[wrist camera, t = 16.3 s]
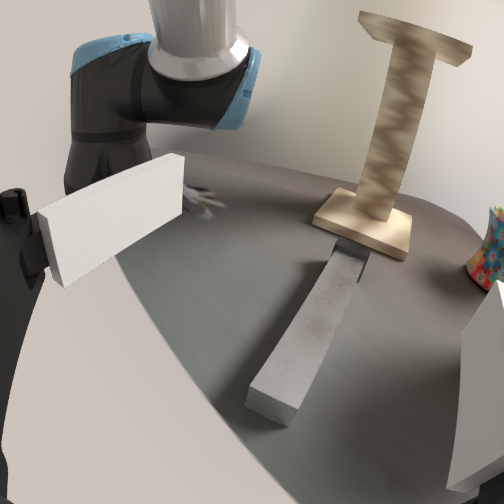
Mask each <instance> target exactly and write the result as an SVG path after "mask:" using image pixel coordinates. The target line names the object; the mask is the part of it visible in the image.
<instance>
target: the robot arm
mask: <svg viewBox="0 0 504 504" xmlns="http://www.w3.org/2000/svg"><path fill="white" fill-rule="evenodd" d="M149 5H150V9H151V14H152V18H153V23H154V27H155V31H156V37H155V38H154V39H153V36H152V35H151V34H148V33H136V34H127V35H117V36H111V37H106V38H101V39H97V40H93V41H90V42H87V43H85V44H83V45H81V46H80V47H79V48H77V50H76V51H75V52H74V55H73V61H72V69H71V73H70V78H71V134H72V144H71V148H70V152H69V156H68V161H67V166H66V171H65V174H64V188H65V194H66V197H63V198H61V199H59V200H57V201H55V202H53V203H51V204H49V205H47V206H45V207H43V208H41V209H39V210H37V213H35V214H33V215H30V212H29V207H28V202H27V197H26V192H25V190H23V189H21V188H15V189H9V190H7V191H4V192H2V193H0V504H13V503H12V502H11V501H9V500H7V482H8V467H7V462H6V459H5V457H4V454H3V452H2V448H1V441H2V434H3V427H4V420H5V415H6V410H7V405H8V400H9V395H10V390H11V386H12V381H13V377H14V373H15V369H16V365H17V361H18V357H19V354H20V350H21V347H22V344H23V340H24V337H25V334H26V330H27V327H28V324H29V321H30V318H31V315H32V312H33V309H34V306H35V304H36V301H37V298H38V295H39V293H40V290H41V287H42V285H43V282H44V279H45V272H44V269H45V268H46V267H48V266H50V270H51V273H52V277H53V279H54V280H55V281H56V282H57V283H58V284H59V285H61V286H62V287H63V288H64V289H65V288H66V287H68V286H69V285H71V284H72V283H74V282H75V281H77V280H78V279H79V278H81V277H82V276H84V275H85V274H87V273H88V272H90V271H91V270H93V269H94V268H96V267H97V266H99V265H100V264H102V263H103V262H105V261H106V260H108V259H109V258H111V257H112V256H114V255H116V254H117V253H119V252H120V251H122V250H123V249H125V248H127V247H128V246H130V245H131V244H133V243H134V242H136V241H138V240H139V239H141V238H142V237H144V236H146V235H147V234H149V233H150V232H152V231H154V230H155V229H157V228H159V227H160V226H162V225H164V224H165V223H167V222H168V221H170V220H172V219H173V218H175V217H177V216H178V215H180V214H182V193H183V174H184V157H183V156H180V155H176V154H173V153H170V154H167V155H164V156H161V157H159V158H156V159H153V160H152V156H151V152H150V148H149V145H148V141H147V138H146V123H161V124H172V125H182V126H190V127H199V128H206V129H210V130H217V129H220V130H236V129H238V128H240V127H241V126H242V125H243V123H244V120H245V117H246V114H247V111H248V107H249V104H250V100H251V94H252V92H253V88H254V85H255V81H256V77H257V73H258V68H259V63H260V59H261V53H260V51H259V50H256V49H254V48H253V47H249V43H248V38H247V36H246V34H245V32H244V31H243V30H242V29H241V28H240V27H238V26H237V25H236V0H149ZM479 486H480V489H479V495H478V496H477V497H475V498H473V499H471V500H468V501H466V502H464V503H462V504H504V283H503V282H501V281H499V280H496V281H495V283H494V285H493V286H492V288H491V289H490V291H489V293H488V294H487V296H486V297H485V299H484V300H483V302H482V303H481V305H480V306H479V308H478V309H477V311H476V312H475V314H474V315H473V317H472V318H471V320H470V321H469V323H468V324H467V325H466V327H465V328H464V330H463V331H462V332H461V372H460V392H459V405H458V416H457V425H456V433H455V441H454V448H453V454H452V460H451V466H450V471H449V476H448V481H447V486H446V489H448V490H453V491H457V492H462V493H467V492H469V491H471V490H473V489H475V488H477V487H479Z"/></svg>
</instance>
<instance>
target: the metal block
mask: <svg viewBox="0 0 504 504" xmlns="http://www.w3.org/2000/svg"><path fill="white" fill-rule="evenodd" d="M371 250H372V249H370V248H368V247H365V246H363V245H360V244H358V243H355V242H353V241H350V240H348V239H345V238H343V237H340V236H339V238H338V240H337V241H336V243H335V246H334V249H333V252H332V255H331V258H330V260H329V262H328V263H327V265H326V267H325V268H324V270H323V272H322V273H321V275H320V277H319V278H318V280H317V282H316V283H315V285H314V287H313V288H312V290H311V292H310V293H309V295H308V297H307V298H306V300H305V301H304V303H303V305H302V306H301V308H300V310H299V311H298V313H297V314H296V316H295V318H294V319H293V321H292V322H291V324H290V325H289V327H288V329H287V330H286V332H285V333H284V335H283V336H282V338H281V339H280V341H279V342H278V344H277V346H276V347H275V349H274V350H273V352H272V353H271V355H270V356H269V358H268V359H267V361H266V362H265V364H264V365H263V367H262V368H261V370H260V371H259V373H258V374H257V376H256V377H255V378H254V380H253V381H252V383H251V384H250V386H249V390H248V393H247V397H246V401H245V404H244V406H245V407H247V408H248V409H250V410H252V411H254V412H256V413H258V414H260V415H262V416H264V417H266V418H268V419H270V420H272V421H274V422H276V423H279V424H281V425H283V426H285V427H287V428H288V426H289V424H290V423H291V421H292V419H293V418H294V416H295V414H296V412H297V411H298V409H299V407H300V405H301V403H302V401H303V399H304V397H305V395H306V393H307V391H308V389H309V387H310V385H311V383H312V381H313V379H314V377H315V375H316V373H317V371H318V369H319V367H320V365H321V363H322V361H323V359H324V357H325V354H326V352H327V350H328V348H329V346H330V344H331V341H332V339H333V337H334V335H335V333H336V330H337V328H338V326H339V323H340V321H341V319H342V317H343V314H344V312H345V309H346V307H347V305H348V302H349V300H350V297H351V295H352V293H353V290H354V288H355V285H356V283H357V282H359V280H360V278H361V275H362V273H363V270H364V268H365V265H366V263H367V260H368V258H369V255H370V252H371Z"/></svg>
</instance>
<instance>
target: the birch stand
mask: <svg viewBox="0 0 504 504" xmlns="http://www.w3.org/2000/svg"><path fill="white" fill-rule="evenodd" d="M358 22H359V23H360V24H361V25H362V26H363V28H364V29H365V30H366V31H367V32H368V34H369V35H370V36H371V37H372V38H373V39H374V40H378V41H381V42H385V43H389V44H392V45H393V49H392V54H391V59H390V64H389V69H388V73H387V78H386V82H385V87H384V91H383V95H382V100H381V104H380V108H379V112H378V117H377V120H376V124H375V128H374V132H373V136H372V140H371V143H370V147H369V151H368V154H367V158H366V162H365V165H364V169H363V172H362V176H361V179H360V182H359V186H358V189H357V192H356V194H355V193H352V192H350V191H347V190H344V189H342V188H339V187H338V189H337V190H336V191H335V192H334V193H333V194H332V195H331V197H330V198H329V199H328V200H327V201H326V202H325V203H324V204H323V206H322V207H321V208H320V209H319V210H318V211H317V212H316V213H315V215H314V218H313V222H312V224H313V225H315V226H318V227H321V228H323V229H326V230H328V231H331V232H333V233H336V234H338V235H341V236H343V237H346V238H348V239H351V240H353V241H356V242H358V243H361V244H363V245H365V246H368V247H370V248H373V249H375V250H378V251H380V252H382V253H385V254H387V255H389V256H392V257H394V258H397V259H399V260H401V261H404V260H405V258H406V256H407V254H408V248H409V241H410V232H411V223H412V216H410V215H408V214H406V213H403V212H401V211H398V210H396V209H393V205H394V202H395V199H396V197H397V194H398V190H399V188H400V185H401V182H402V179H403V176H404V172H405V170H406V167H407V163H408V160H409V157H410V154H411V150H412V147H413V144H414V140H415V136H416V133H417V130H418V126H419V122H420V119H421V115H422V111H423V108H424V104H425V100H426V96H427V91H428V87H429V83H430V78H431V74H432V70H433V65H434V60H435V59H438V60H440V61H443V62H445V63H448V64H450V65H453V66H455V67H458V66H459V65H461V64H462V63H463V62H465V61H466V60H468V59H469V58H470V57H471V54H472V48H473V46H471V45H469V44H467V43H464V42H462V41H459V40H457V39H454V38H452V37H449V36H446V35H444V34H441V33H438V32H435V31H432V30H429V29H426V28H423V27H420V26H417V25H413V24H411V23H407V22H404V21H400V20H397V19H393V18H389V17H385V16H381V15H377V14H373V13H369V12H364V11H360V12H359V18H358Z"/></svg>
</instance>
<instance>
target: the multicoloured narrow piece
mask: <svg viewBox="0 0 504 504" xmlns="http://www.w3.org/2000/svg"><path fill="white" fill-rule="evenodd" d="M467 270H468V272H469V274H470V276H471V277H472V278H473V279H474V280H475V281H476V282H477V283H478V284H479V285H480V286H481V287H483V288H484V289H486V290H488V291H490V289H491V288H492V286H493V285H494V283H495V281H496V280H499V281H501V282H503V283H504V209H502V208H500V207H497V206H491V207H490V216H489V225H488V230H487V233H486V236H485V239H484V241H483V244H482V246H481V247H480V249H479V250H478V252H477V253H476V254H475V255H474V256H473V257H472V258H471V259H469V260H468V261H467Z"/></svg>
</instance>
